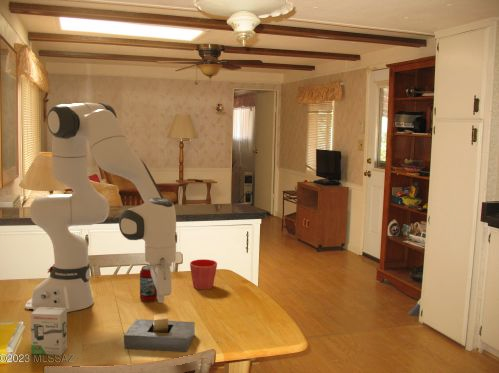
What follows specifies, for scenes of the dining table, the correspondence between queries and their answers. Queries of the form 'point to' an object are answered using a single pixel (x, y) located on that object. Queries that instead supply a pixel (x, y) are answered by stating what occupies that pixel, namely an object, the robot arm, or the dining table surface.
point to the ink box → (48, 330)
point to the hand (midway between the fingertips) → (160, 300)
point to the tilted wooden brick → (160, 323)
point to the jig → (159, 336)
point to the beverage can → (147, 285)
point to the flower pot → (203, 273)
